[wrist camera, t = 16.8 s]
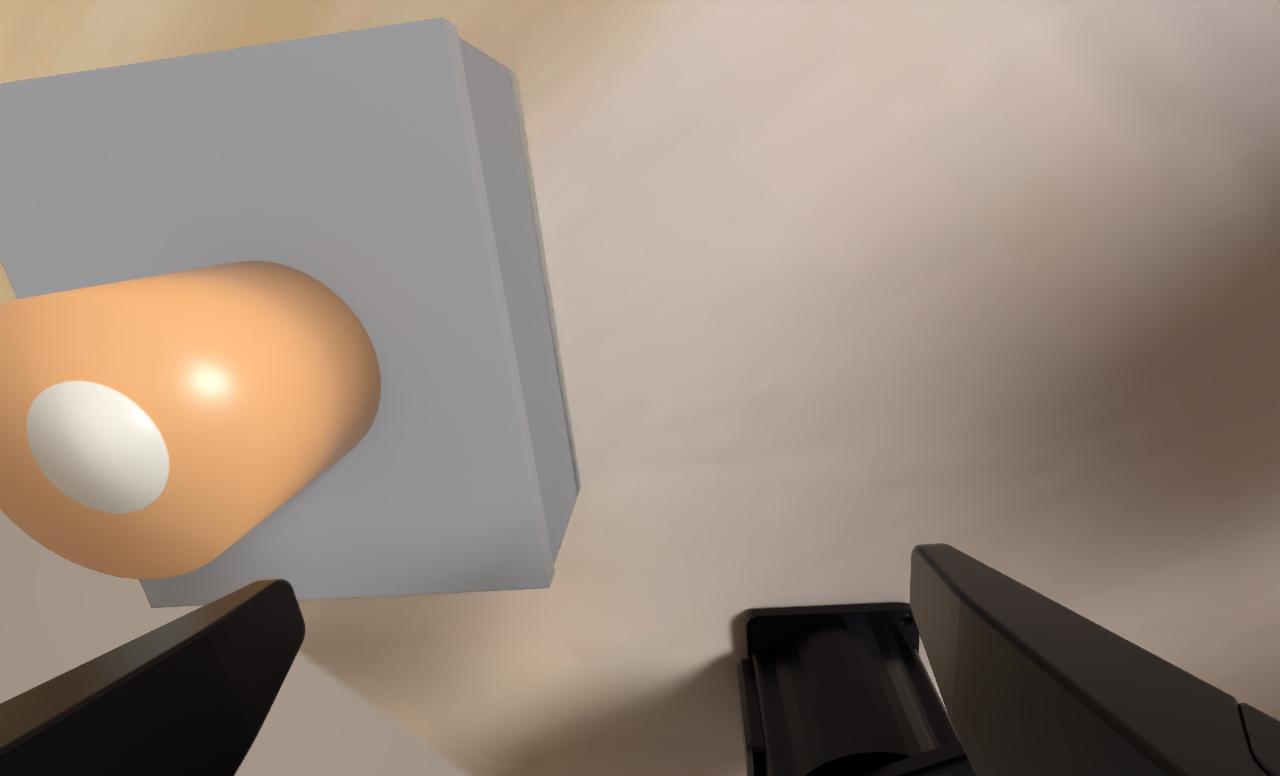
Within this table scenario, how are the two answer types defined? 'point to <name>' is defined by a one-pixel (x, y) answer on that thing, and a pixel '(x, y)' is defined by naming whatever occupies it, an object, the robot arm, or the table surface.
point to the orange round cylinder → (175, 410)
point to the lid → (328, 251)
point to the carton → (524, 281)
